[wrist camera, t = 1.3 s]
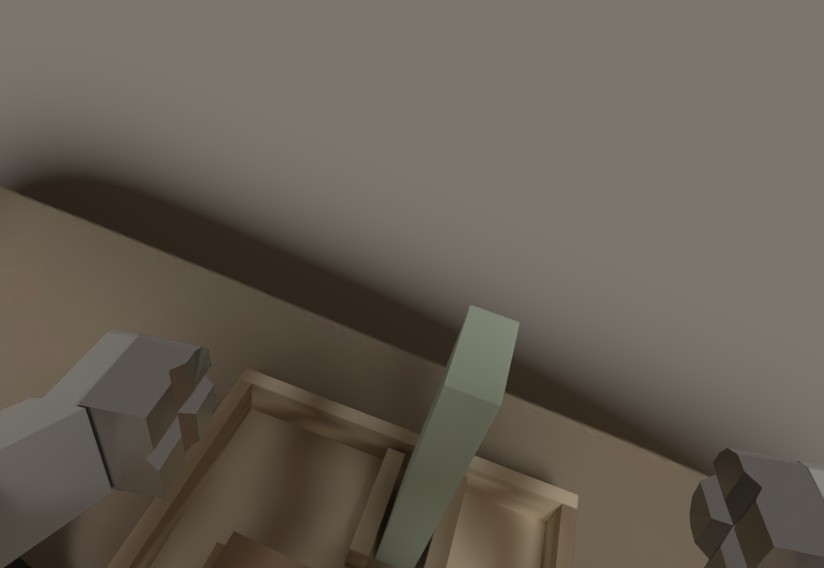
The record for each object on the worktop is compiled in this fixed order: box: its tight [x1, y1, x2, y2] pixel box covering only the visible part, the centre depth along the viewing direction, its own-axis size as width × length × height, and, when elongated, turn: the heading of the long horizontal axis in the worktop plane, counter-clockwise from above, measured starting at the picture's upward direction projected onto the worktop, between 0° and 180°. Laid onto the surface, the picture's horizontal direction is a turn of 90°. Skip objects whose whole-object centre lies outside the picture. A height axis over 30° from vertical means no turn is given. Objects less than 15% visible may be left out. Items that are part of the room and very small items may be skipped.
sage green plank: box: [375, 305, 519, 568], centre depth 30 cm, size 2×5×18 cm, turn 163°
